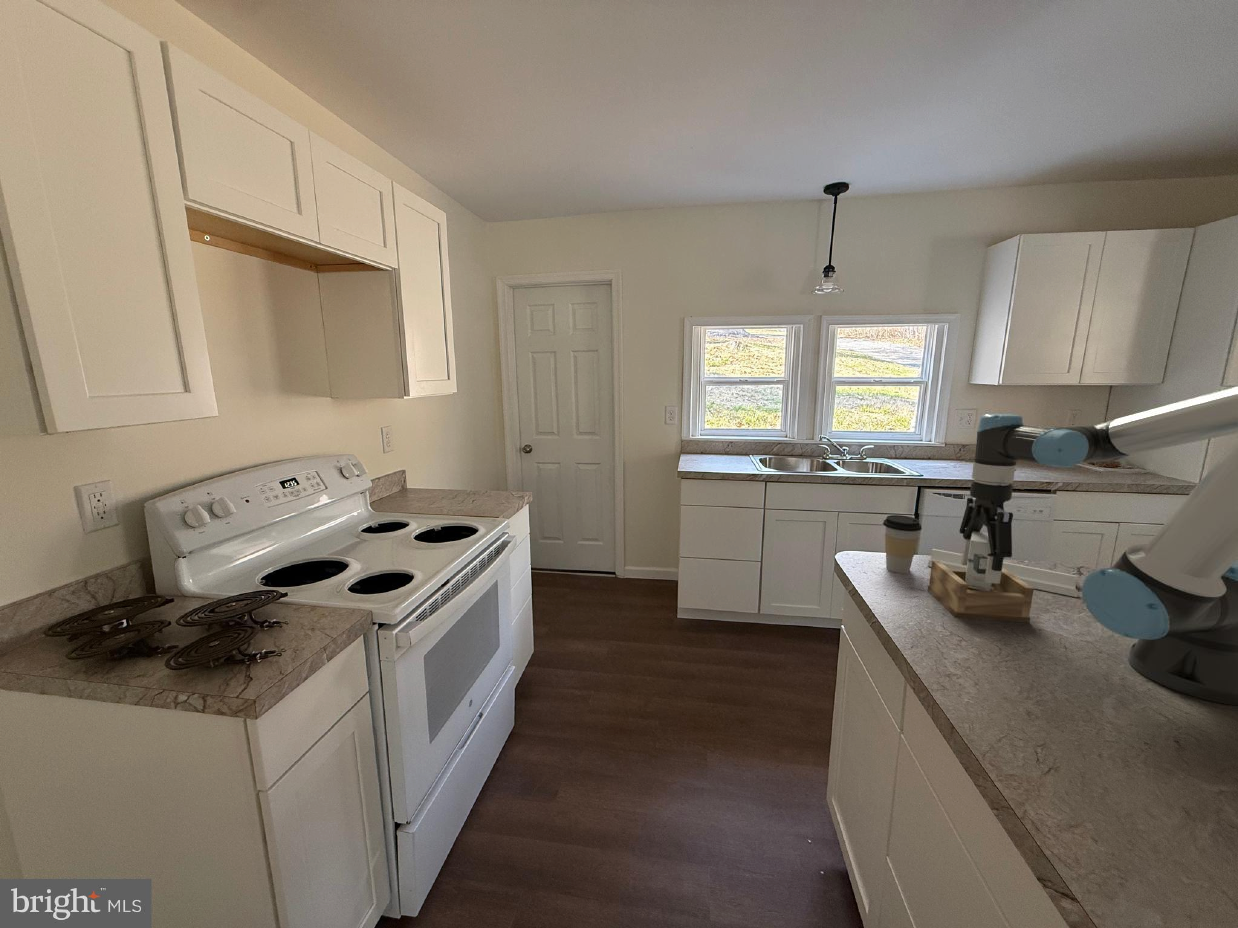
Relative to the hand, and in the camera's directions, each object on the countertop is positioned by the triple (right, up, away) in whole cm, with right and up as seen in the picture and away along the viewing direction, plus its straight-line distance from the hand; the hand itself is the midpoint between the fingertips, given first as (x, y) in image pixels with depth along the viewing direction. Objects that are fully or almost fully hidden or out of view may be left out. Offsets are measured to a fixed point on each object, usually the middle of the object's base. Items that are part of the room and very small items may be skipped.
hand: (979, 573), depth 111 cm
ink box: (0, -3, +1) cm, 3 cm away
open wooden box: (0, -8, +2) cm, 8 cm away
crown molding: (+19, -5, +19) cm, 28 cm away
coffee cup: (-6, -4, +23) cm, 24 cm away
